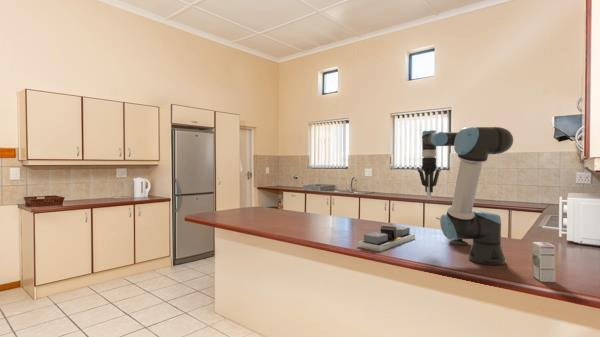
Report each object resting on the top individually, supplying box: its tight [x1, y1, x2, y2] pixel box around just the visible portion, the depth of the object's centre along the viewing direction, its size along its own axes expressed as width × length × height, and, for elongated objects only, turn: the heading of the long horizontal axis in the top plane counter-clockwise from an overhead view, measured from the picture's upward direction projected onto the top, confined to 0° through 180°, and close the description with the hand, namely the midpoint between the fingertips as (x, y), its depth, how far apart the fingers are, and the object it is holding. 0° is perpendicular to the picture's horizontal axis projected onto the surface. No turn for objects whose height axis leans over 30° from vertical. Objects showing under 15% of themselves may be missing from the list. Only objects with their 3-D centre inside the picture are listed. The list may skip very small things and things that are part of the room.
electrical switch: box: [380, 224, 398, 241], centre depth 192 cm, size 9×5×9 cm, turn 57°
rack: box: [357, 225, 416, 252], centre depth 193 cm, size 14×40×7 cm, turn 135°
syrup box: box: [532, 241, 556, 283], centre depth 132 cm, size 6×6×14 cm
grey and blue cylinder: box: [448, 239, 469, 246], centre depth 191 cm, size 12×12×18 cm
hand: (429, 198), depth 191 cm, fingers closed
